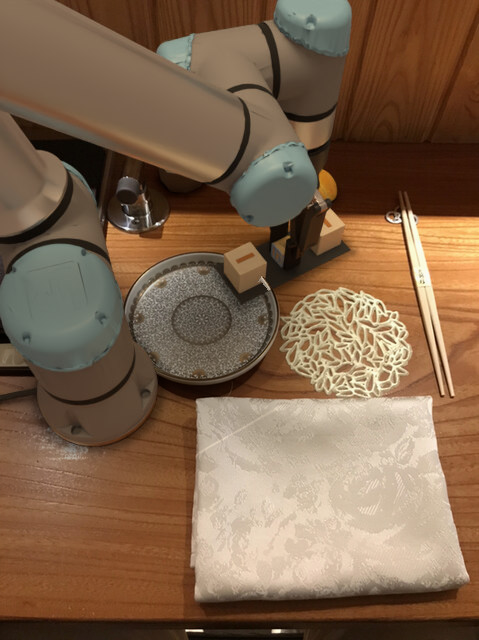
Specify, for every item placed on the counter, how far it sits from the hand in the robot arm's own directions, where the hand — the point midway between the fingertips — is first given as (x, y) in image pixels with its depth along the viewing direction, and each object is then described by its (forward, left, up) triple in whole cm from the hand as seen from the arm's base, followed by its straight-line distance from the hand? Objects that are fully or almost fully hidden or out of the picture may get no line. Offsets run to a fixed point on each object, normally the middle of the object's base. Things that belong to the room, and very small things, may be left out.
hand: (284, 256), depth 86 cm
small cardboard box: (-7, 0, 0) cm, 7 cm away
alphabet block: (0, 0, 0) cm, 0 cm away
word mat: (0, 0, -1) cm, 1 cm away
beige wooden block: (+7, 0, 0) cm, 7 cm away
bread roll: (+11, +9, -1) cm, 14 cm away
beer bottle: (-5, +23, -1) cm, 24 cm away
